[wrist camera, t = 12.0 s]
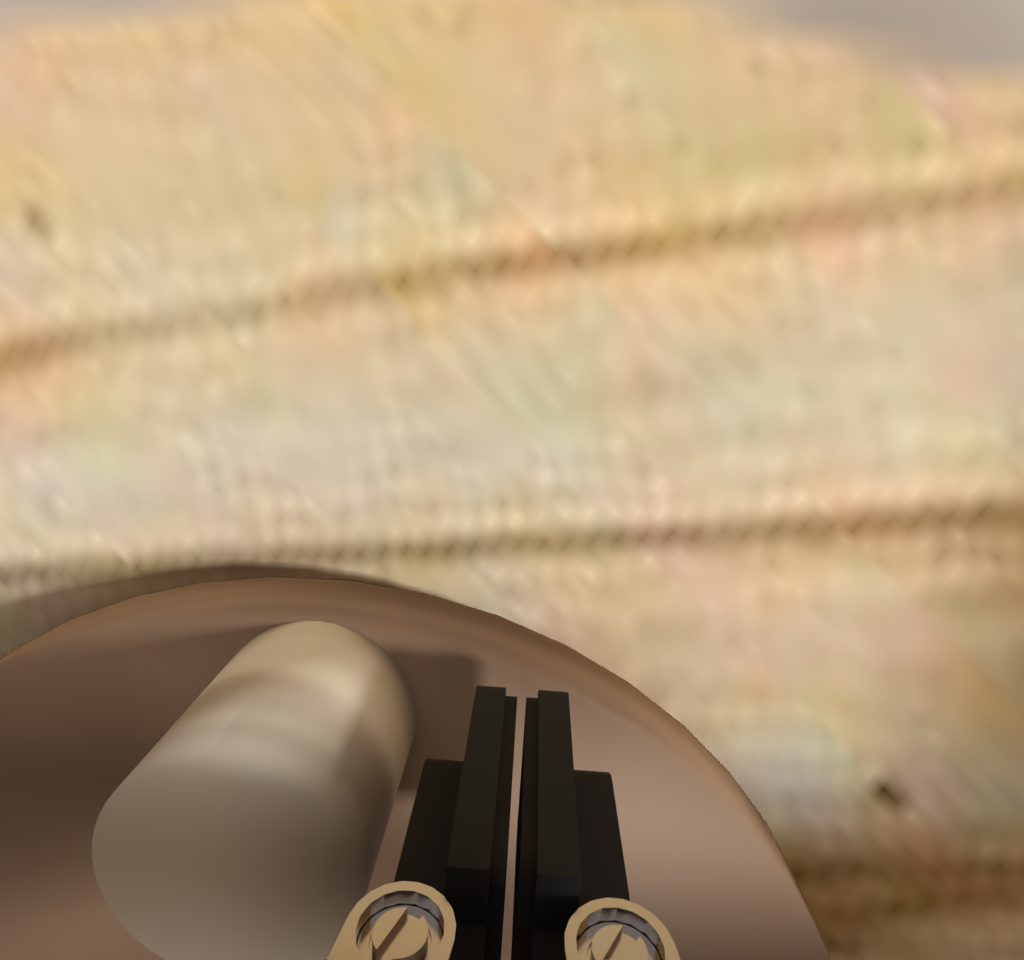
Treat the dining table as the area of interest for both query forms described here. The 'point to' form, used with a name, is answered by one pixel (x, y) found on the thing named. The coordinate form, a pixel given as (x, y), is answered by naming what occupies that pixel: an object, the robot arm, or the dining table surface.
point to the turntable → (324, 776)
